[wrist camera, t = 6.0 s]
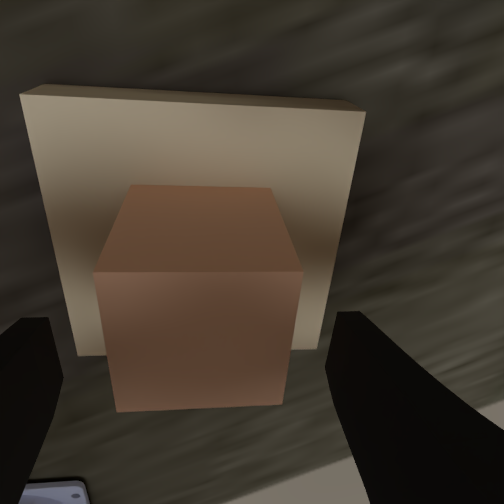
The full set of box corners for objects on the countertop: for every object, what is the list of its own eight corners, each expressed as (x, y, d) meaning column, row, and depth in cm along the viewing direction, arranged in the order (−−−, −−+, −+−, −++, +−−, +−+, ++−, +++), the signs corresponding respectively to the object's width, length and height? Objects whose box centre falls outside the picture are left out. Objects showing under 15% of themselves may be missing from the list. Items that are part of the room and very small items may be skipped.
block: (259, 296, 15) (282, 404, 11) (141, 297, 15) (116, 412, 10) (270, 187, 13) (303, 271, 9) (131, 184, 12) (92, 272, 8)
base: (306, 318, 19) (316, 349, 17) (90, 322, 17) (78, 356, 16) (345, 100, 14) (366, 111, 12) (44, 83, 12) (19, 94, 11)
